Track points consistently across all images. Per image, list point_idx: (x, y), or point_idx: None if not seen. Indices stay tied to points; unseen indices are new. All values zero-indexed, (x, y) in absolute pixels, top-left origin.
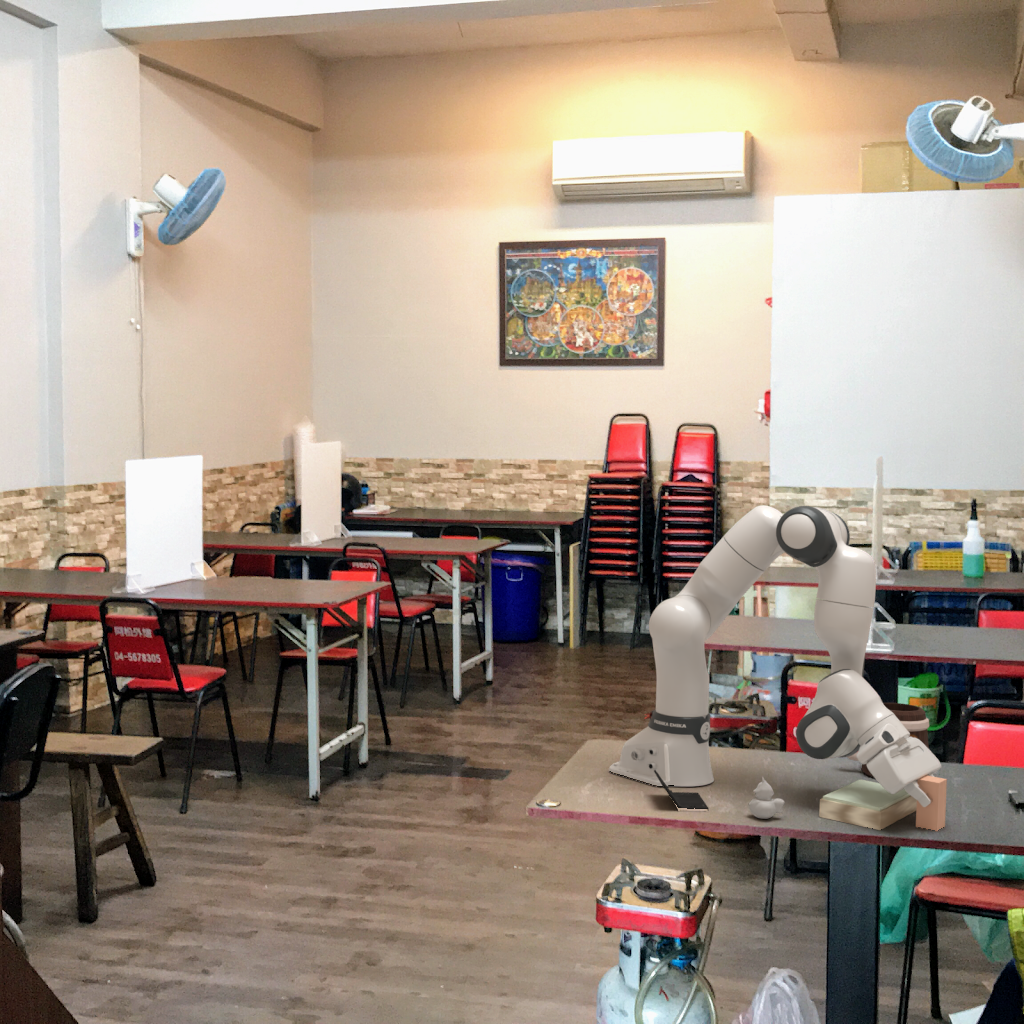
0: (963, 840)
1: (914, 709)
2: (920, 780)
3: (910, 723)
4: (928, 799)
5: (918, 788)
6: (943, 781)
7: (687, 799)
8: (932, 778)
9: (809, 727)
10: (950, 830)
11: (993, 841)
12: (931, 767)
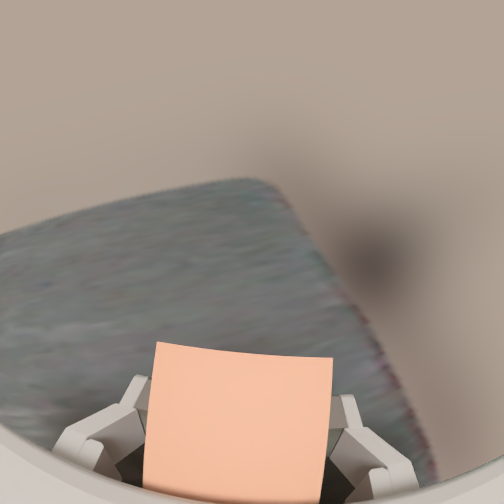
0: (322, 281)
1: None
2: (316, 494)
3: None
4: (355, 402)
5: (394, 456)
6: (232, 352)
7: None
8: (214, 442)
9: None
10: (239, 343)
11: (270, 216)
12: (29, 461)
